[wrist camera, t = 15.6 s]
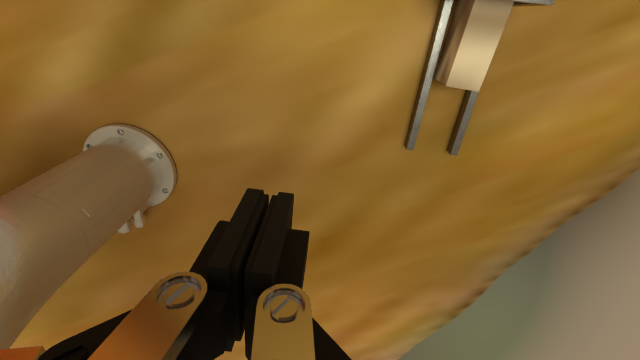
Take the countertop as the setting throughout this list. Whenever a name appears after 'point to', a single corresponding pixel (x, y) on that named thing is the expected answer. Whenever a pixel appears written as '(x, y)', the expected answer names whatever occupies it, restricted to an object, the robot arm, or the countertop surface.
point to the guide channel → (426, 83)
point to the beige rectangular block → (471, 42)
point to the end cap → (531, 2)
